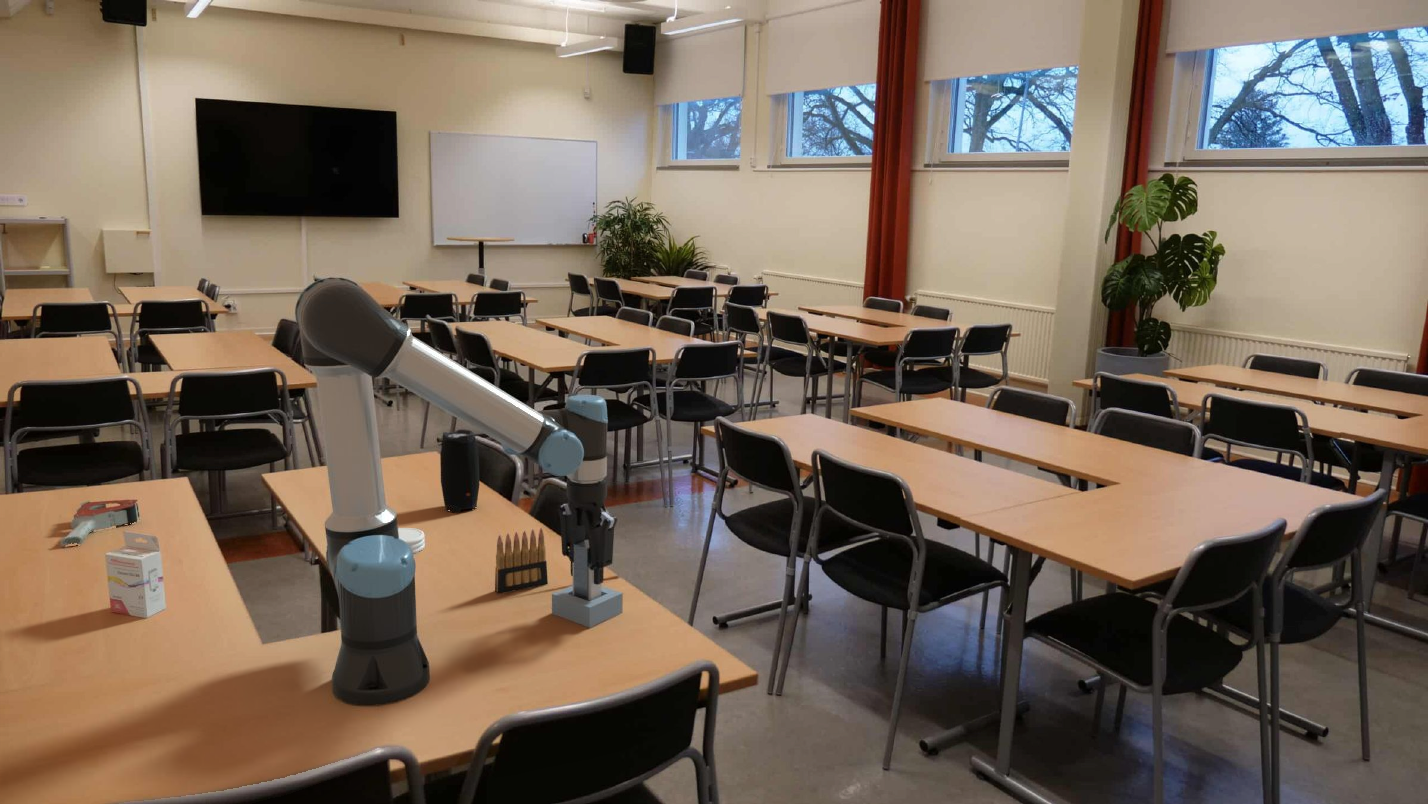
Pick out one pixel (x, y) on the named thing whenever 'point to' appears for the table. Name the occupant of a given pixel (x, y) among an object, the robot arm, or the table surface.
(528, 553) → the ammunition clip
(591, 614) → the slot block
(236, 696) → the table surface
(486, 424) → the robot arm
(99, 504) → the tape dispenser
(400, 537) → the white ridged disc
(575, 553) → the steel pin
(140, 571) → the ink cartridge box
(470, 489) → the portable speaker
